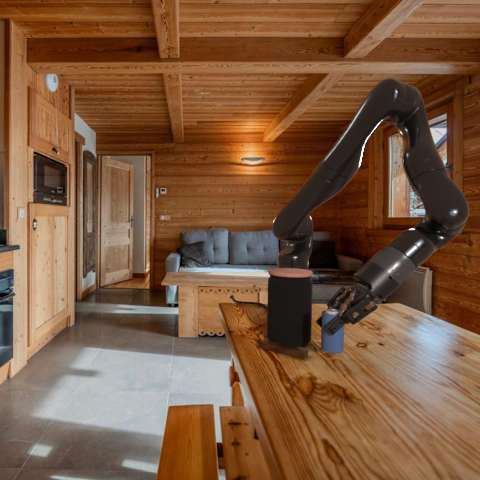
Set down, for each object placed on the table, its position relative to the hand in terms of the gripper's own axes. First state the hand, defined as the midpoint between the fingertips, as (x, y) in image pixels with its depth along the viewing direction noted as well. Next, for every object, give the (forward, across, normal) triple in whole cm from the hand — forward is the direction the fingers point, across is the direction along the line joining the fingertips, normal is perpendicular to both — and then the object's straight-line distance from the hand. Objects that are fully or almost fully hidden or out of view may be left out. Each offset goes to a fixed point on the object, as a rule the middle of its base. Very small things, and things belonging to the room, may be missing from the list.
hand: (323, 328), depth 82 cm
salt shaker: (+2, 0, +5) cm, 5 cm away
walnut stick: (+10, -7, +1) cm, 13 cm away
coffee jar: (+8, -15, +3) cm, 18 cm away
